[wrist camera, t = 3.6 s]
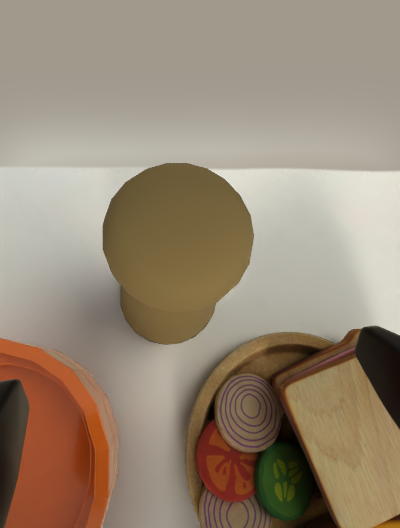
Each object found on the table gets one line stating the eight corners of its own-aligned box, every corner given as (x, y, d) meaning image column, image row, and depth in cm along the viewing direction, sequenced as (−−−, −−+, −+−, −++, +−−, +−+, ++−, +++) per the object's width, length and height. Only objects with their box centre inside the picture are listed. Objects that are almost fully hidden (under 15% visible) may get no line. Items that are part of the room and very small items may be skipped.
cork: (130, 355, 18) (96, 340, 8) (112, 260, 20) (64, 144, 10) (227, 330, 19) (307, 288, 9) (202, 242, 21) (246, 123, 11)
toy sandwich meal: (162, 362, 18) (163, 359, 14) (358, 311, 21) (413, 296, 17) (216, 628, 15) (242, 739, 10) (443, 526, 18) (541, 580, 13)
